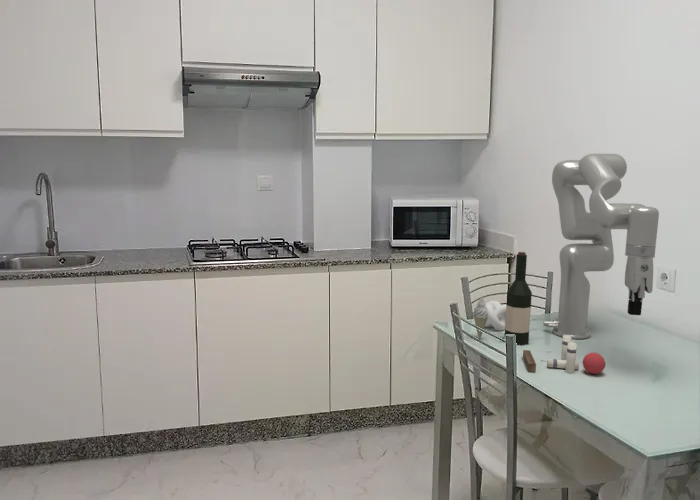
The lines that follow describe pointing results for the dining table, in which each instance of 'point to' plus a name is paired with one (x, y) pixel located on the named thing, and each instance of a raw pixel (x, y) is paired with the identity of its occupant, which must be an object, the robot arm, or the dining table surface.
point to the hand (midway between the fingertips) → (634, 314)
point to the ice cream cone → (480, 316)
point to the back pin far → (565, 346)
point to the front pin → (560, 363)
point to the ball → (594, 363)
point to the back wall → (529, 361)
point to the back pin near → (571, 357)
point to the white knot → (496, 315)
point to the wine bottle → (519, 303)
